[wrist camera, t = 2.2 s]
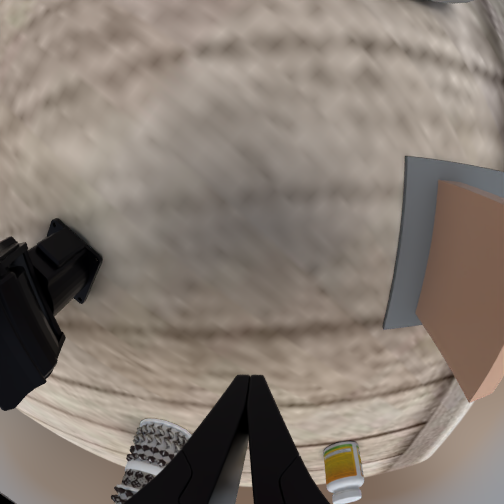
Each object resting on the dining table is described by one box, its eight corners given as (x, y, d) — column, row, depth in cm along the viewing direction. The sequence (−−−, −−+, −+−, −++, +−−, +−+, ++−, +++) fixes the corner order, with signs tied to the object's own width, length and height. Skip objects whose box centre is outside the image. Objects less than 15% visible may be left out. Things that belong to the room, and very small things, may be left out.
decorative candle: (196, 451, 35) (169, 581, 12) (141, 436, 34) (101, 558, 11) (198, 427, 31) (163, 587, 8) (134, 409, 31) (78, 556, 8)
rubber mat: (382, 326, 23) (383, 329, 22) (405, 155, 17) (407, 156, 17) (500, 307, 21) (502, 309, 21) (529, 178, 16) (531, 179, 15)
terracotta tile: (415, 313, 21) (469, 402, 11) (438, 179, 17) (544, 224, 7) (436, 310, 21) (493, 392, 11) (461, 182, 17) (562, 226, 7)
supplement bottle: (316, 452, 33) (319, 505, 24) (341, 437, 31) (349, 495, 22) (339, 456, 33) (345, 505, 25) (364, 442, 32) (374, 494, 23)
